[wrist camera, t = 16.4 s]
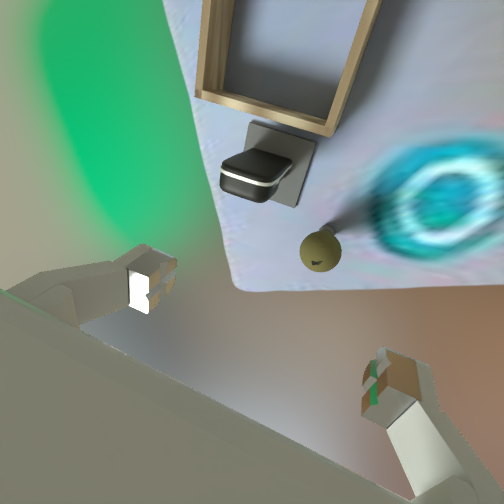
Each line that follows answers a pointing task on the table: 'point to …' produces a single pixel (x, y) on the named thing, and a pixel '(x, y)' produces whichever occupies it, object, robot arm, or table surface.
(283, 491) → the robot arm
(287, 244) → the table surface
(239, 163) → the battery charger
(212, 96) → the box
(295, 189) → the pad
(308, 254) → the light bulb
